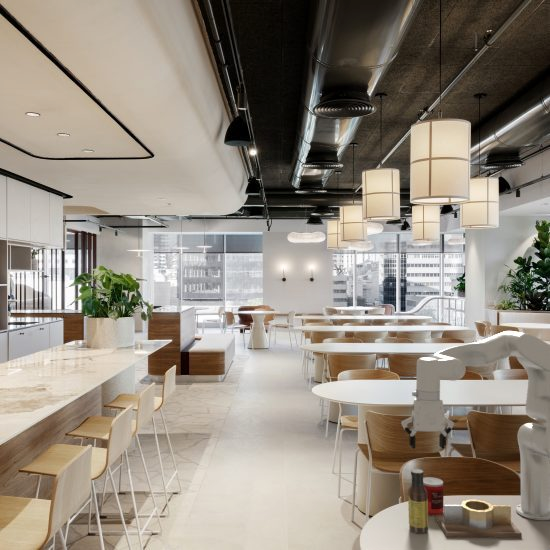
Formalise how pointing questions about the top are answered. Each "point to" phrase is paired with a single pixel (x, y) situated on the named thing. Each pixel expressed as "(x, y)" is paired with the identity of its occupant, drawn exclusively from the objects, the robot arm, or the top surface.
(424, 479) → the canned food
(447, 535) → the walnut board
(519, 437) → the robot arm
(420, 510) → the sauce bottle
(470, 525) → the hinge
